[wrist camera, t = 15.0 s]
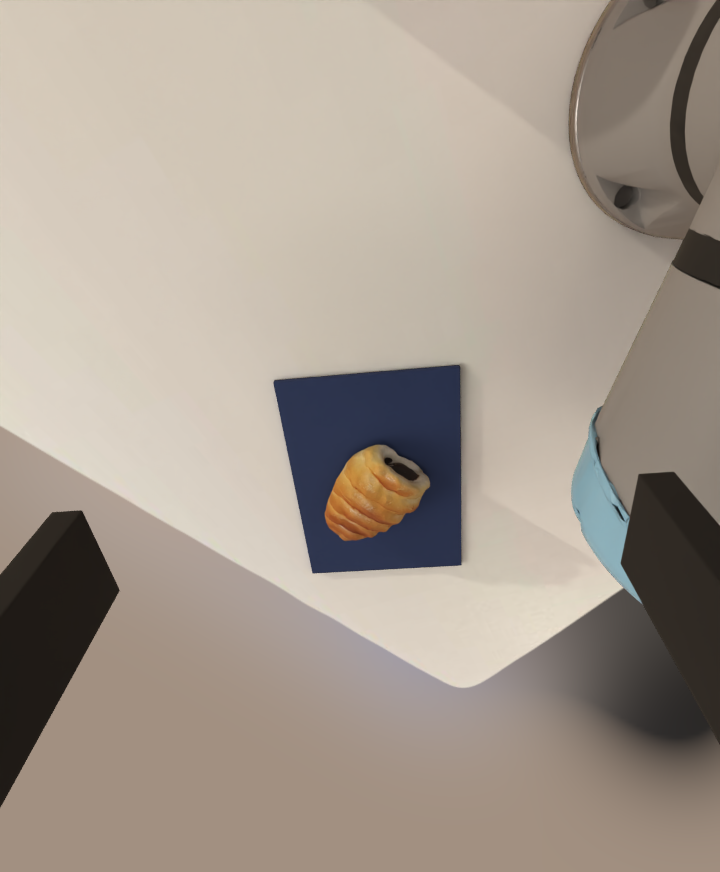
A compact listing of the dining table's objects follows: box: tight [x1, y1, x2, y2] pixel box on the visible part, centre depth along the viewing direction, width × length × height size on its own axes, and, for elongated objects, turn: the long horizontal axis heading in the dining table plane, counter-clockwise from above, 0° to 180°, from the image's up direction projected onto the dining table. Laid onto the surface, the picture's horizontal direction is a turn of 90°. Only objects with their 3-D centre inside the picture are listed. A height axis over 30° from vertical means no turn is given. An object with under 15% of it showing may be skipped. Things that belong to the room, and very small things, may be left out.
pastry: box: [325, 445, 430, 541], centre depth 43 cm, size 9×7×4 cm
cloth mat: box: [274, 365, 461, 573], centre depth 45 cm, size 14×20×1 cm
